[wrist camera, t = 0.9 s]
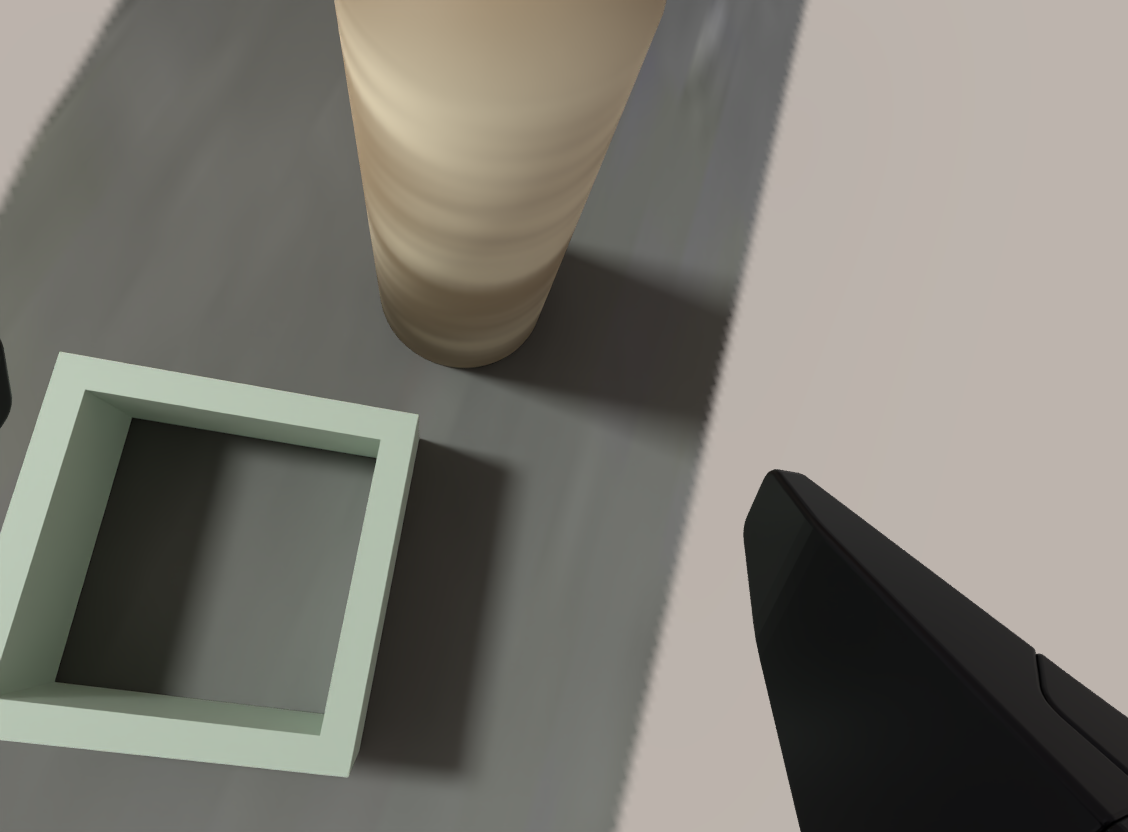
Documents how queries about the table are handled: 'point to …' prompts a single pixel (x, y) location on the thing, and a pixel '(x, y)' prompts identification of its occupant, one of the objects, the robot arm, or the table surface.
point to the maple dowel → (482, 152)
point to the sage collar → (67, 538)
